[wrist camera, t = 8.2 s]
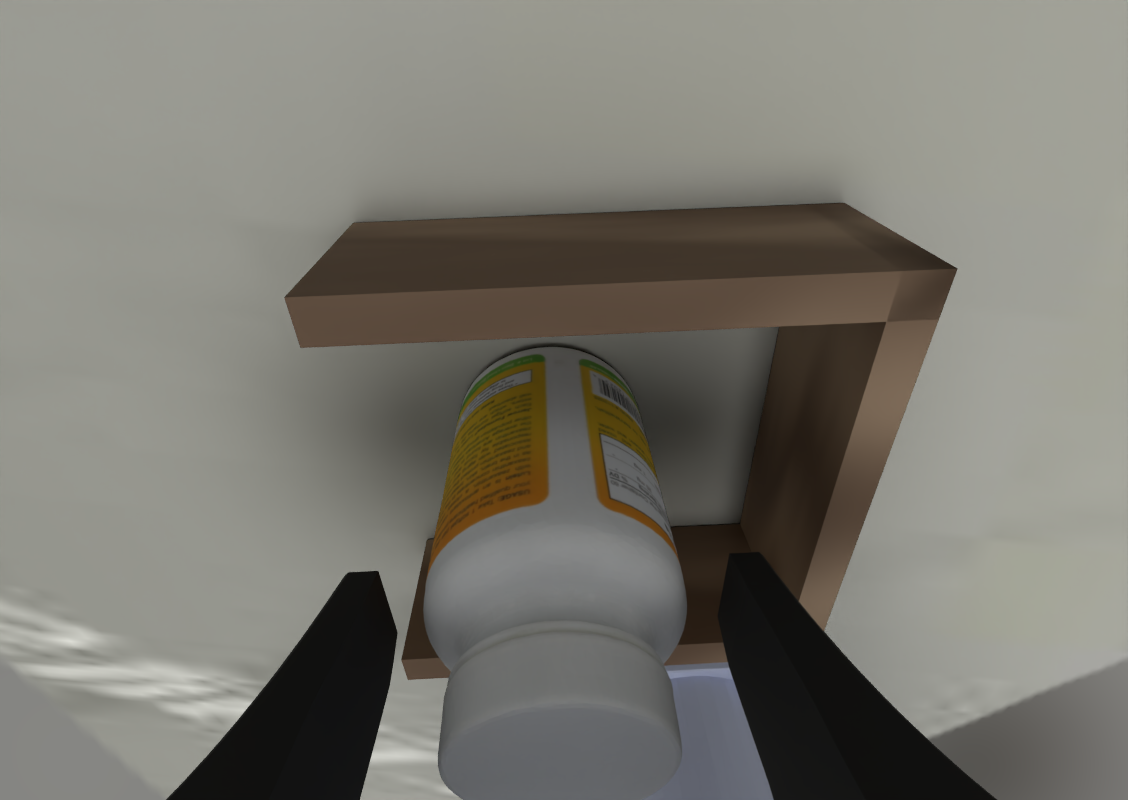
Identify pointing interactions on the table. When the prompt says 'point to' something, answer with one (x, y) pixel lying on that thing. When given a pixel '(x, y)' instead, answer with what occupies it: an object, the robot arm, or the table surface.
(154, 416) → the table surface
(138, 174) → the table surface
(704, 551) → the walnut stall
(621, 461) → the supplement bottle
